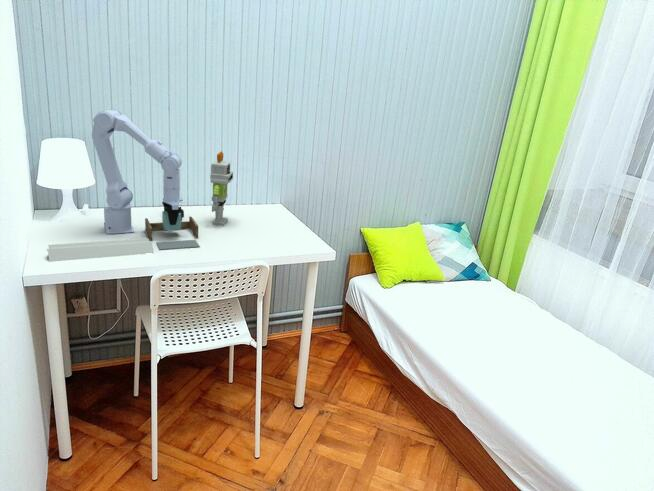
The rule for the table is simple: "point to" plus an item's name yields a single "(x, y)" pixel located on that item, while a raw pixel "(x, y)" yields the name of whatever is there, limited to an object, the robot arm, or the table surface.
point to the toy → (220, 187)
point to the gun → (181, 213)
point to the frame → (158, 227)
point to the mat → (177, 244)
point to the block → (167, 225)
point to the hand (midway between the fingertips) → (171, 222)
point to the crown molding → (99, 249)
